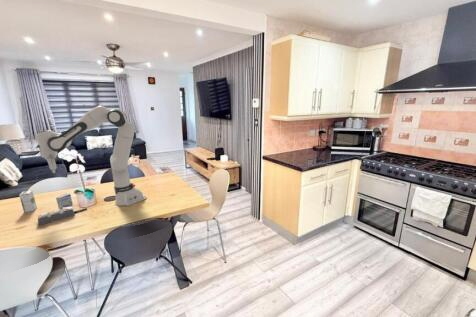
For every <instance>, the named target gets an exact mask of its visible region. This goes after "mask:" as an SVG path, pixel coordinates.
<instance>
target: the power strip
mask: <svg viewBox="0 0 476 317" xmlns="http://www.w3.org/2000/svg"><path fill="white" fill-rule="evenodd" d="M70 207H72V208H73V206H71V205H70ZM59 209H60V212H58V213H57V214H54V215H52V216H51V214H50V212H51V211H49V212H48V215H46V216H45V217H44V218H40V219H38V218H37V222H38V226H43V225H46V223H47V224H51V223H53V221H54V222H57V221H60V220H64V219H66V218H70V217H74V216H75V214H76V213H80V212H83V211H87V210H88V208H87V207H85V208H82V209H79V210H75V211H74V208H73V209H72V210H69V211H66V210H64V211H63V209H62V208H59Z"/></svg>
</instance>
